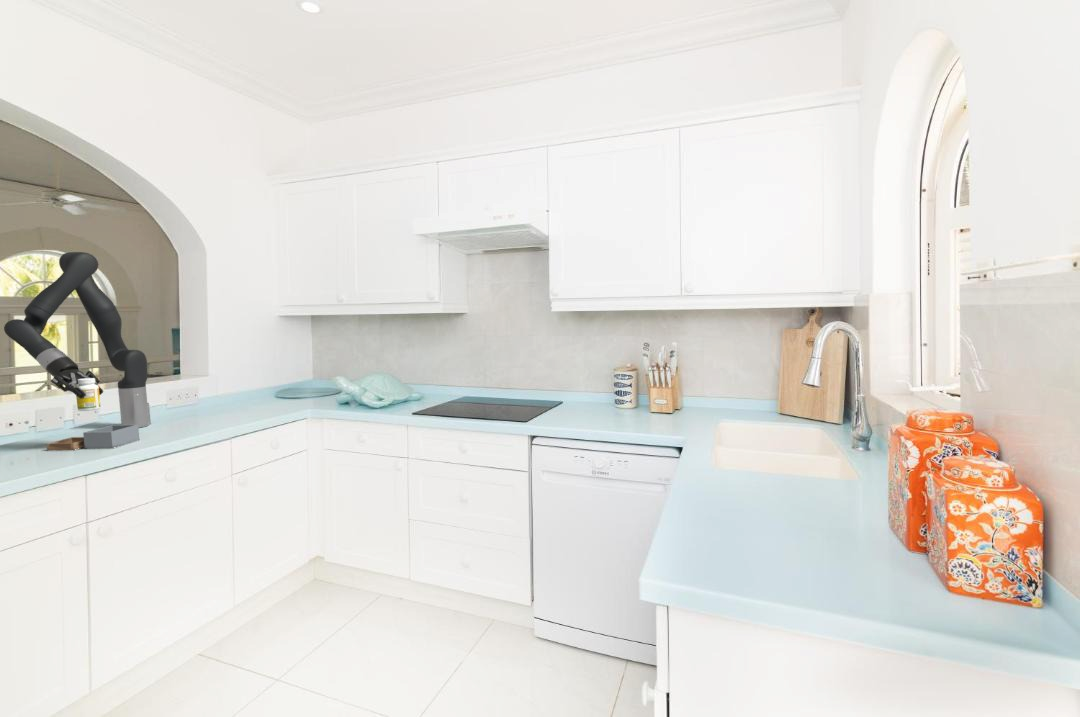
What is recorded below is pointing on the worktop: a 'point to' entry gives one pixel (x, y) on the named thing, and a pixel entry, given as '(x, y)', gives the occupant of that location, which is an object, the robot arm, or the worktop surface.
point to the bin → (111, 436)
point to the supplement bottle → (88, 395)
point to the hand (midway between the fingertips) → (92, 395)
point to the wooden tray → (67, 444)
